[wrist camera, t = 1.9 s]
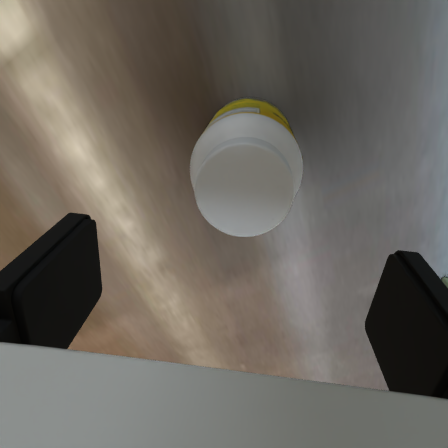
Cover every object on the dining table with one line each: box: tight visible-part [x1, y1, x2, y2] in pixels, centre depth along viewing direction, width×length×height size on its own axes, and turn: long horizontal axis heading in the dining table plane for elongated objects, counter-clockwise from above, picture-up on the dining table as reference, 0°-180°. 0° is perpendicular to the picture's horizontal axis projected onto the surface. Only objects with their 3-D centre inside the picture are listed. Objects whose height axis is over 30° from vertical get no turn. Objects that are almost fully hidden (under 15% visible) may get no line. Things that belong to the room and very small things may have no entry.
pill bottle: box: [190, 98, 303, 237], centre depth 21 cm, size 6×6×11 cm
